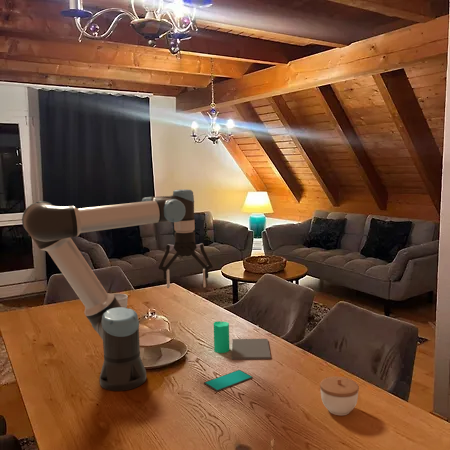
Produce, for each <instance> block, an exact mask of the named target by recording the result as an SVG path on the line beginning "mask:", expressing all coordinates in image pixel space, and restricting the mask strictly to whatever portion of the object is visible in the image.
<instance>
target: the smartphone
mask: <svg viewBox="0 0 450 450" xmlns="http://www.w3.org/2000/svg"><path fill="white" fill-rule="evenodd" d="M252 379H254V378H253V376H252V375H250V374H249V373H247V372H245V371H243V370H240V369H237V370H234V371H232V372H228V373H226V374H224V375H221V376H218V377H215V378H212V379H209V380H207V381H205V382H204V383H203V385H205V386H206V387H208V388H210V390H212V391H214V392H216V393H218V392H220V391H223V390H226V389H228V388H231V387H234V386H237V385H239V384H242V383H245V382H247V381H250V380H252Z"/></svg>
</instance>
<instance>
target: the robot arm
mask: <svg viewBox="0 0 450 450" xmlns="http://www.w3.org/2000/svg"><path fill="white" fill-rule="evenodd" d="M194 196H195V195H194V192H193V190H192V189H174V190H173V192H172V195H166V196H164V195H163V196H147V197H142V199H141V201H136V202H129V203H119V204H109V205H100V206H99V205H98V206H89V207H82V208H81V207H80V208H77V207H76V206H74V205H68V206H67V205H66V206H64V205H63V206H62V205H61V206H60V205H54V204H52V203H51V202H49V201H36V202H33V203H31V204H30V205H29V206H27V207H26V208H25V210H24V211H23V213H22V216H21V223H22V226H23V228H24V229H25V231H26V232H27V233H28V234H29V236H30V237H31V239H32V240H33V242H34V244H35V245H36V246H37V247H38V248H39V250H40V251H46V252H47V253H48V255H49V256H50V257H51V259H52V261H53V262H54V264H55V265H56V266H57V268H58V269H59V271H60V273H62V275H63V276H64V278H65V280H66V281H67V282H68V284H69V286H70V287H71V288H72V289H73V291H74V292H75V294H76V295H77V297H78V298H79V300H80V302H81V303H82V304H83V306H84V315H85V317H86V318H87V320H88V321H89V323H90V324H91V327H92V328H93V330H94V331H95V332H96V333H97V334H98V335H99V337H100V338H101V340H102V346H103V347H102V348H103V363H102V367H101V370H100V375H99V386H100V387H101V388H102V389H105V390H107V391H111V392H112V391H114V392H124V391H129V390H133V389H135V388H138V387H140V386H141V385H143V384H145V382H146V380H147V370H146V367H145V365H144V363H143V359H142V357H141V349H140V328H139V327H140V320H139V315H138V313H137V312H136V311H135V309H132V308H128V307H127V308H125V307H121V305H120V304H119V302H118V301H117V299H116V298H115V296H114V295H113V294H114V293H109V292H107V290H105V288H104V286H103V284H102V282H101V281H100V280H99V279H98V277H97V275H96V274H95V272H94V271H93V269H92V268H91V266H90V265H89V264H88V262H87V260H86V259H85V257H84V255H83V254H82V252H81V251H80V249H79V248H78V247H77V245H76V244H75V242H74V241H73V238H77V237H78V236H80V235H81V234H84V233H90V232H91V233H92V232H98V231H105V230H112V229H113V230H114V229H121V228H127V227H135V226H142V225H149V224H156V223H159V224H160V223H167V222H170V223H173V225H174V226H173V227H174V231H175V232H174V244H170V243H168V244H167V245H166V248H165V251H164V255H163V257H162V259H161V261H160V264H159V265H158V270H162V272H163V279H164V280H166V288H167V289H170V287H171V283H170V282H171V280H170V277H171V276H170V269H169V268H170V267H171V265H172V264H173V263H174V261H175V260H176V259H177V258H178V257H179V256H180V257H191V256H192V257H193V258H194V260H196V262H197V263H198V264H200V265H201V267H202V282H203V283H202V285H203V287H202V288H206V286H207V283H206V282H207V281H206V279H208V278H209V270H210V269H213V267H214V264H213V262H212V261H211V258H210V257H209V255H208V253H207V251H206V249H205V244H204V243H203V242H201V243H199V244H196V232H195V230H196V229H195V223H196V222H195V197H194ZM173 249H174V250H175V251H176V252H175V254H174V255H173V256H172V257H171V259H169V261H168V262H167V263H166V265H165V262H166V260H167V258H168V255H169V254H170V252H171V251H172V250H173ZM196 249H198V250H199V251H200V252H201V254H202V256H203V258H204V260H205V261H206V262H205V261H204V260H203V259H202V258H201V257H200V255H198V254H197V252H196Z"/></svg>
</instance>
